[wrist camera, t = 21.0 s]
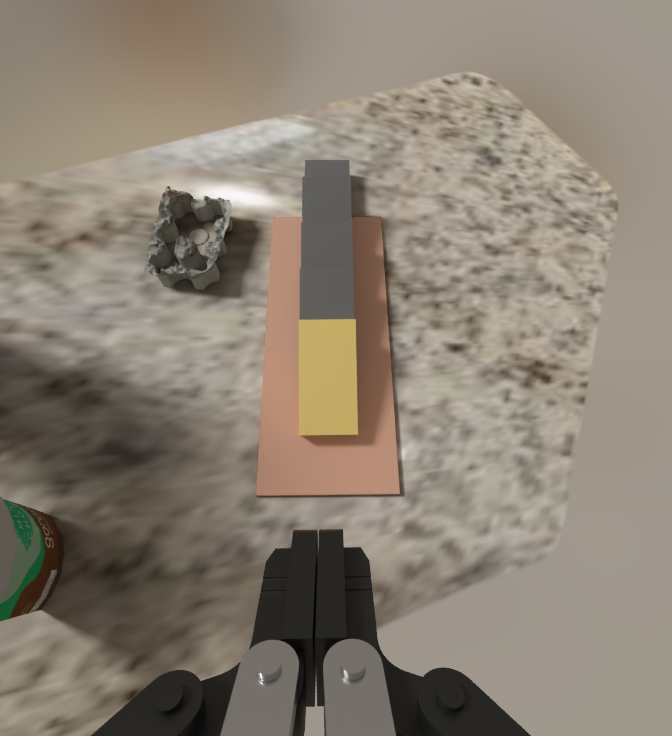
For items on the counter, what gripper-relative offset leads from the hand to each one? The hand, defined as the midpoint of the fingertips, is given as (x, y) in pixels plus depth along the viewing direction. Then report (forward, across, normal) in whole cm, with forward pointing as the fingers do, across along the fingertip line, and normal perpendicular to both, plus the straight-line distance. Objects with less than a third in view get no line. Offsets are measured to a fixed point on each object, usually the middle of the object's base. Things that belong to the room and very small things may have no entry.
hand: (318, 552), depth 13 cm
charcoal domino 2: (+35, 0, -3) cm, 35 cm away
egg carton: (+39, +14, -5) cm, 42 cm away
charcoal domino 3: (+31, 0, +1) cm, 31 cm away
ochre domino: (+23, 0, +9) cm, 25 cm away
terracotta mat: (+31, 0, +3) cm, 31 cm away
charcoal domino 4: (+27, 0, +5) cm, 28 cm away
